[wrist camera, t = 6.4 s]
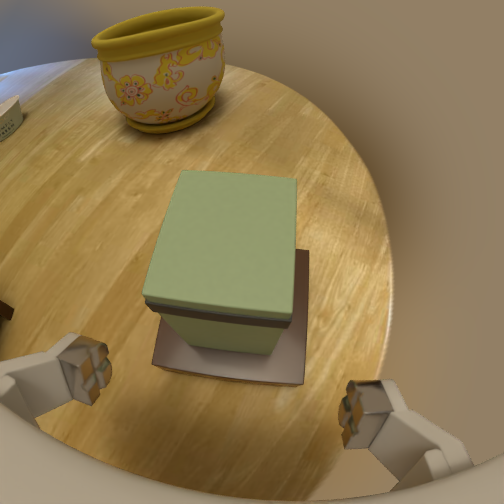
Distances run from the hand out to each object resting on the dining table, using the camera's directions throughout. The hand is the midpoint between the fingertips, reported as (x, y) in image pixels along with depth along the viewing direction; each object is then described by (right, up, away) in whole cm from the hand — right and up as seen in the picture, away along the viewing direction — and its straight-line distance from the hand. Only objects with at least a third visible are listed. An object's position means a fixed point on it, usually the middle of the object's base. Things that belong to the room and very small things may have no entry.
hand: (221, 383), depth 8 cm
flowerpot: (-12, +26, +31) cm, 42 cm away
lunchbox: (0, 0, +13) cm, 13 cm away
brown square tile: (0, -1, +15) cm, 15 cm away
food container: (-59, +34, +35) cm, 76 cm away
